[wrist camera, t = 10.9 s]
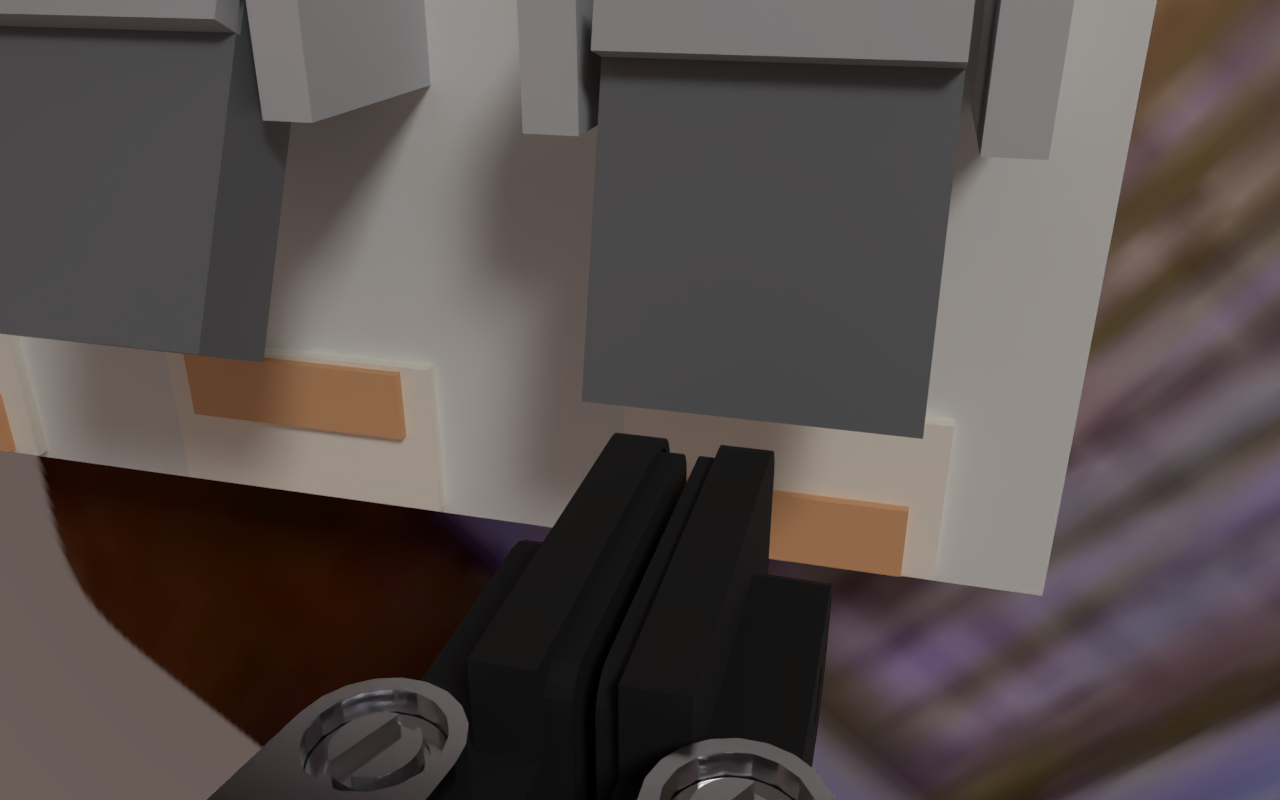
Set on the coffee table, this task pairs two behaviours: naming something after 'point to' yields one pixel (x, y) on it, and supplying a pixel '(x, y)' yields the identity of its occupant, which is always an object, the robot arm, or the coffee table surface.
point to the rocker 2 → (773, 206)
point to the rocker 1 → (137, 176)
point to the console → (558, 292)
